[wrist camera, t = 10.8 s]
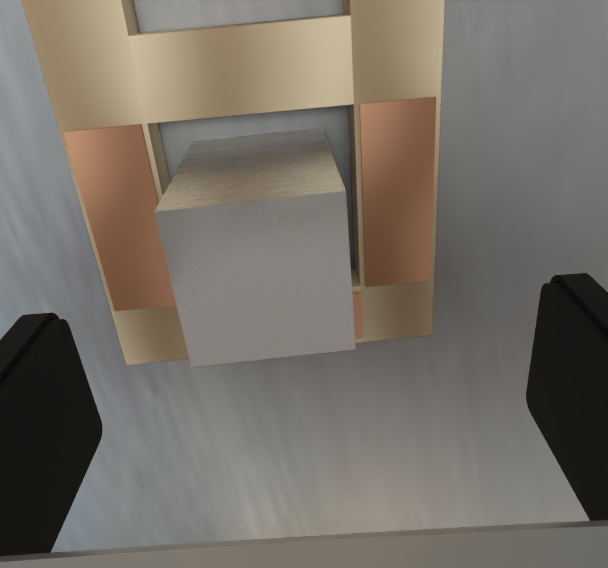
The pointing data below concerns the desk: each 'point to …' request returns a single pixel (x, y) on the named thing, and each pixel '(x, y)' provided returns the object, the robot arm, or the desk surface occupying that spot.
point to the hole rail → (238, 101)
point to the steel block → (259, 248)
